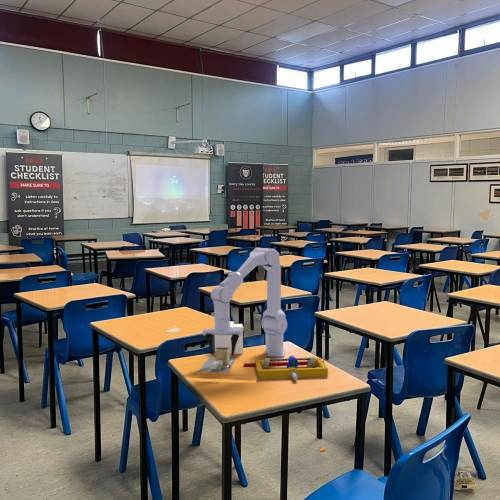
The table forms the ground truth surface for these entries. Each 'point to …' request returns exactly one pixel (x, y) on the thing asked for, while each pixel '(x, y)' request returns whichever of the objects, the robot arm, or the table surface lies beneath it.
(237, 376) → the table surface
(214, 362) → the shaft stand
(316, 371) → the mechanical clamp
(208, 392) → the table surface
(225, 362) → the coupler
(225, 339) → the corner bracket
